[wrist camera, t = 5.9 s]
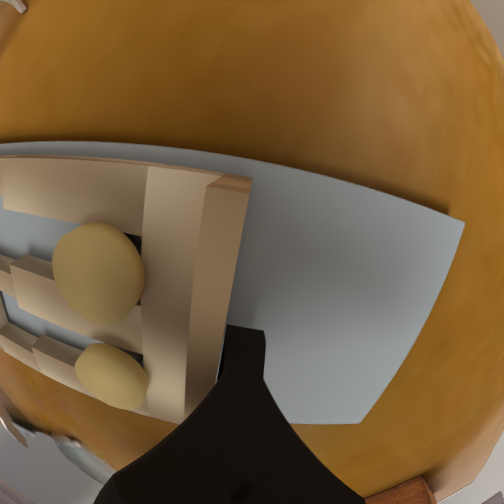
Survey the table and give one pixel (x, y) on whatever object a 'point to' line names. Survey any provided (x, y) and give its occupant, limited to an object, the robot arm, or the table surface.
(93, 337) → the beige flat slatted frame
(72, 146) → the board
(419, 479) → the wooden box
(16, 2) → the dna model
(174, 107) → the table surface
